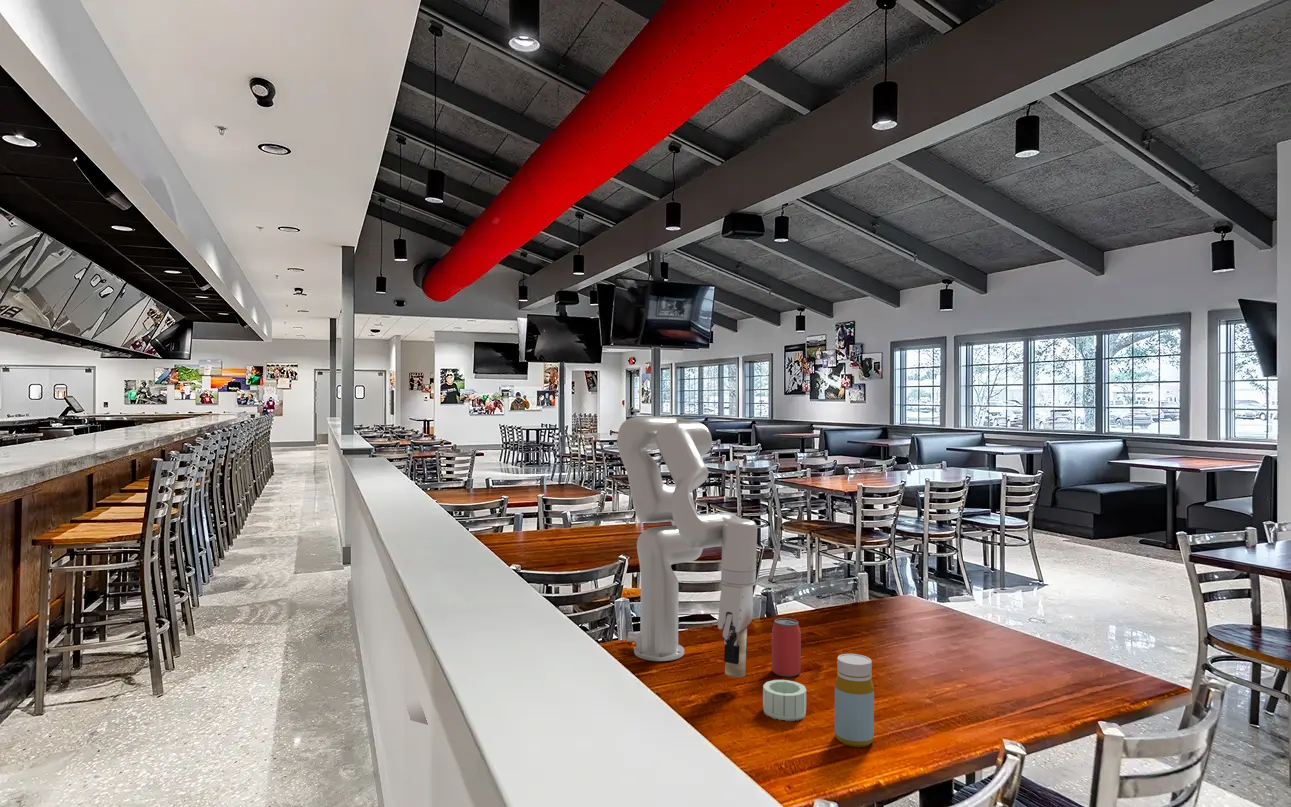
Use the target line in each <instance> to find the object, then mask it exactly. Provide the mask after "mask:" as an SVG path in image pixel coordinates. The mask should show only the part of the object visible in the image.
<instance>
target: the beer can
mask: <svg viewBox="0 0 1291 807" xmlns="http://www.w3.org/2000/svg"><path fill="white" fill-rule="evenodd" d="M801 636H802V634H801V628H800V625H799V621H798V620H797V619H793V618H787V617H781V618H776V619H774V623H773V626H772V629H771V671H772V672H773V673H774V674H775V675H777V676H779V677H784V678H789V677H790V678H793V677H797V676H798V675H800V673H801V655H802V654H801V649H802V648H801V647H802V645H801V644H802V643H801V642H802V641H801V639H802V637H801Z"/></svg>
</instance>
